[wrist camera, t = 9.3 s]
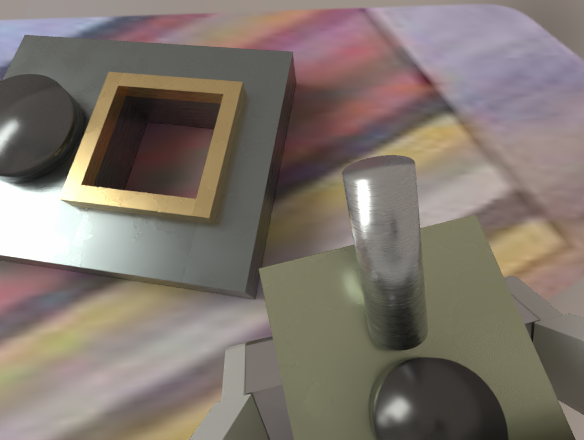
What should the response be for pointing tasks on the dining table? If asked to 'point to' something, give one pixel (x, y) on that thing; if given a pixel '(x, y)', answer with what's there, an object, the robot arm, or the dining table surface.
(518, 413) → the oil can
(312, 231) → the dining table surface
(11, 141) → the grey base plate
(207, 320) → the dining table surface
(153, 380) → the dining table surface
